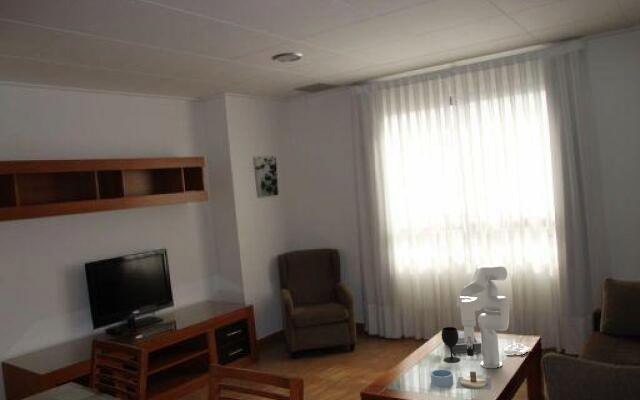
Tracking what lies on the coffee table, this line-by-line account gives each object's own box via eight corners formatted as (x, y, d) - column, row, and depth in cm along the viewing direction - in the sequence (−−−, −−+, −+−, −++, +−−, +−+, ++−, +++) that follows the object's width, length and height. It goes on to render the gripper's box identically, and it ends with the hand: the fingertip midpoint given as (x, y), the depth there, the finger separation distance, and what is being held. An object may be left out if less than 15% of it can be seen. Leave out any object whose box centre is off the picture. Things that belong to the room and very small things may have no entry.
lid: (461, 378, 301) (460, 367, 301) (487, 378, 297) (486, 368, 297) (459, 387, 288) (458, 376, 288) (486, 388, 284) (485, 377, 283)
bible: (445, 354, 345) (444, 340, 345) (445, 342, 371) (444, 328, 371) (482, 354, 340) (481, 339, 339) (479, 341, 366) (478, 327, 366)
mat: (458, 378, 303) (458, 377, 303) (491, 379, 297) (490, 378, 297) (456, 389, 288) (455, 388, 288) (490, 390, 282) (490, 389, 282)
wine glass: (442, 362, 330) (440, 331, 329) (444, 357, 340) (441, 326, 339) (460, 363, 327) (457, 331, 326) (460, 357, 337) (458, 326, 336)
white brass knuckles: (521, 358, 326) (499, 354, 337) (534, 350, 338) (512, 347, 349) (520, 353, 326) (498, 349, 337) (533, 345, 338) (512, 341, 349)
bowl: (432, 379, 305) (432, 369, 304) (454, 380, 301) (453, 369, 301) (430, 387, 293) (429, 376, 293) (452, 388, 289) (451, 377, 289)
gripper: (462, 318, 301) (465, 348, 301) (460, 326, 284) (463, 357, 285) (476, 318, 298) (478, 348, 299) (475, 326, 282) (477, 358, 282)
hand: (471, 353), depth 292 cm, fingers open, 9 cm apart
